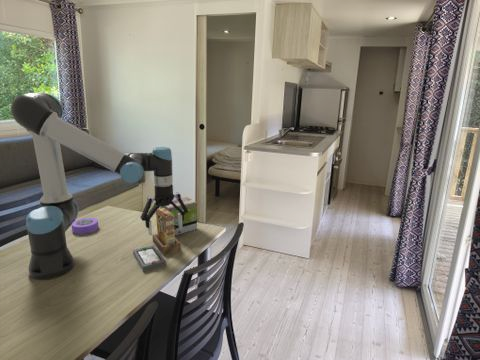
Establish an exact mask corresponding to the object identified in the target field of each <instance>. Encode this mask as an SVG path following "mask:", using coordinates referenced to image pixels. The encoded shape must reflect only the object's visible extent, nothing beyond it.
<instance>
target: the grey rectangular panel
mask: <svg viewBox="0 0 480 360" xmlns="http://www.w3.org/2000/svg"><path fill="white" fill-rule="evenodd" d="M138 255H139V256H140V258H141V260H142V261H143V263H144V264H148V263H152V261H160V259H159V257H158V256H157V255H156V253H155V252H154V250H153V249H148V250H144V251H139V252H138Z"/></svg>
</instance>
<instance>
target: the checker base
mask: <svg viewBox="0 0 480 360" xmlns="http://www.w3.org/2000/svg"><path fill="white" fill-rule="evenodd" d="M148 249H153V250H154V252H155V253H156V255H157V256H158V257H159V259H160V261H152V263H148V264H144V263H143V261H142V260H141V258H140V256H139V255H138V252H139V251H144V250H148ZM132 253H133V256H134V259H135V260H136V261H137V263H138V265H139V268H140V269H141V270H142V272H147V271H150V270H153V269H154V270H155V269H158V268H163V267H166V266H167V261H166V259H165V258H164V257H163V255H162V254H161V252H160V251H159V250H158V248H157V247H156V245H155V244H154V245H150V246H146V245H145V246H141V247H140V248H136V249H133V250H132Z"/></svg>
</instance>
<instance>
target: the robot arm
mask: <svg viewBox="0 0 480 360" xmlns="http://www.w3.org/2000/svg"><path fill="white" fill-rule="evenodd" d="M63 108H64V107H63V105H62V103H61V101H60V100H59V99H58V98H57V97H55V96H54V95H53V94H51V93H46V92H40V91H39V92H31V93H23V94H20V95H18V96H16V97H15V98H14V99H13V101H12V102H11V106H10V113H11V116H12V118H13V119H14V121H15V122H16V123H17V124H18V125H20V126H21V128H22V127H23V128H24V129H26V132H28V133H29V134H30V135H31V136H32V140H33V145H34V152H35V156H36V163H37V167H38V171H39V172H38V173H39V177H40V184H41V188H42V194H43V195H42V196H41V198H40V199H39V202H40V207H38V208H36V209H33V210H32V211H30V212H29V213H28V214H27V215H26V219H25V221H26V222H25V223H26V224H25V228H26V231H27V234H28V235H27V236H28V241H29V247H30V251H31V255H30V261H29V265H28V274H29V276H30V277H31V278H32V279H34V280H41V281H42V280H50V279H55V278H59V277H62V276H63V275H65V274H68V273H69V272H71V270H73V268H74V267H75V259H74V256H73V255H72V254H71V252H70V251H71V250H70V249H69V248H68V245H67V239H66V232H67V231H68V229H69V228H70V227H72V225H71V224H72V223H73V222H74V221H75V220H77V218H78V215H79V206H78V204H77V202H76V201H75V200H74V197H73V196H74V195H73V194H72V193H70V192H69V191H68V185H67V179H66V174H65V168H64V162H63V156H62V150H61V145H63V146H65V147H67V148H68V149H70V150H73V151H74V152H76V153H78V154H79V155H82V156H84V157H85V158H88V159H89V160H92V161H93V162H95V163H97V164H98V165H101V166H103V167H104V168H106V169H109V170H110V171H112V172H114V173H115V174H118V175H119V176H120V178H121V179H122V180H123V182H125V183H127V184H135V183H137V182H139V181H140V180H141V178H143V176H144V173H145V172H153V181H154V182H153V183H154V197H150V196H148V197H147V199H146V200H147V201H146V204H145V206H144V208H143V211H142V212H141V215H140V220H141V221H142V222H144V223H145V227H146V229H148V231H147V232H148V235H149V236H152V235H153V229H152V221H151V219H152V217H153V216H154V214H156V210H158V209H160V206H162V207H163V206H169V205H170V204H171V205H172V206H174V207H175V208H176V209H177V210H178V211H179V212H180V213H178V224H179V228H180V229H182V221H184V215H185V213H187V212H188V210H187V208H186V206H185V205H184V203H183V201H182V199H181V198H182V196H181V194H180V193H179V192H175V193H174V185H173V181H174V180H173V156H172V155H173V154H172V149H171V148H169V147H167V146H158V147H154V148H152V150H151V151H152V152H128V153H127V152H126V153H124V152H122V151H121V150H119V149H116V148H115V147H113V146H111V145H109V144H107V143H106V142H105V141H102V140H101V139H99V138H97V137H95V136H93V135H92V134H90V133H88V132H86V131H84V130H82V129H80V128H78V127H77V126H76V125H73V124H72V123H70V122H68V121H66V120H64V119H62V117H63V114H64V109H63ZM175 199H177V200H178V202H179V203H180V205H181V207H182V208H183V210H181V209H180V208H179V207H178V206H177V205H176V204H175V203H174V202H173V201H172V200H175ZM154 201H155V202H154ZM152 203H154V204H153V206H152Z"/></svg>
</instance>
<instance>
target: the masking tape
mask: <svg viewBox="0 0 480 360" xmlns="http://www.w3.org/2000/svg"><path fill="white" fill-rule="evenodd" d="M97 230H99V220H98V219H97V218H95V217H82V218H78V219H76V220H75V221H74V222H73V223H72V224H71V232H72V233H73V232H74V233H73V234H75V233H76V234H75V235H86V234H91V233H93V232H96V231H97Z"/></svg>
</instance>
